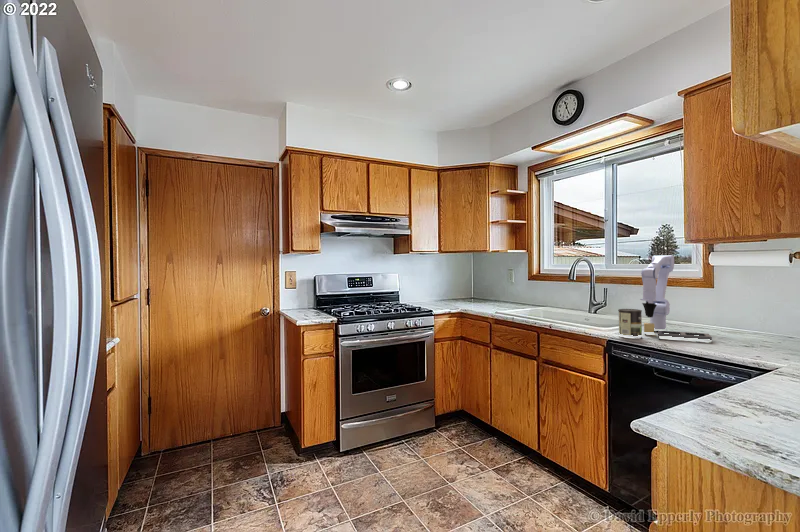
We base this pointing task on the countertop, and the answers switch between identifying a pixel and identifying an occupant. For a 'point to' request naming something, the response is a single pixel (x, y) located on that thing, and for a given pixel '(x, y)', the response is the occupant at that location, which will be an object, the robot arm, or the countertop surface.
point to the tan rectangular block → (648, 327)
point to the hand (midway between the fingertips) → (649, 316)
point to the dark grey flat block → (685, 334)
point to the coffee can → (630, 322)
